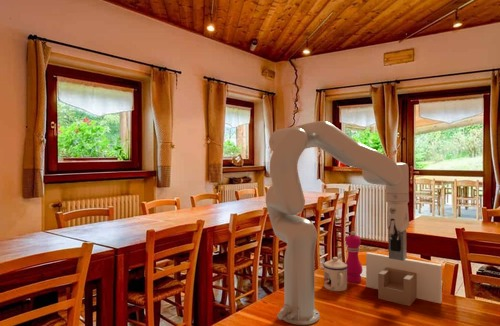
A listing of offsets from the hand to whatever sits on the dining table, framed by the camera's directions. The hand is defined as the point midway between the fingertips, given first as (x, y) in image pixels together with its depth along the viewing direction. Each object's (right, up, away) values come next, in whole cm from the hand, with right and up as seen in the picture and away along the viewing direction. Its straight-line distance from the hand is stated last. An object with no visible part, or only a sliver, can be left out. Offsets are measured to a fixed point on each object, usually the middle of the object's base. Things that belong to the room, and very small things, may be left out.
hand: (397, 249), depth 129 cm
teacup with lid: (-19, -18, +11) cm, 28 cm away
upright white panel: (+1, -18, +2) cm, 18 cm away
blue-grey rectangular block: (0, -3, 0) cm, 3 cm away
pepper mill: (-10, -18, +20) cm, 28 cm away
